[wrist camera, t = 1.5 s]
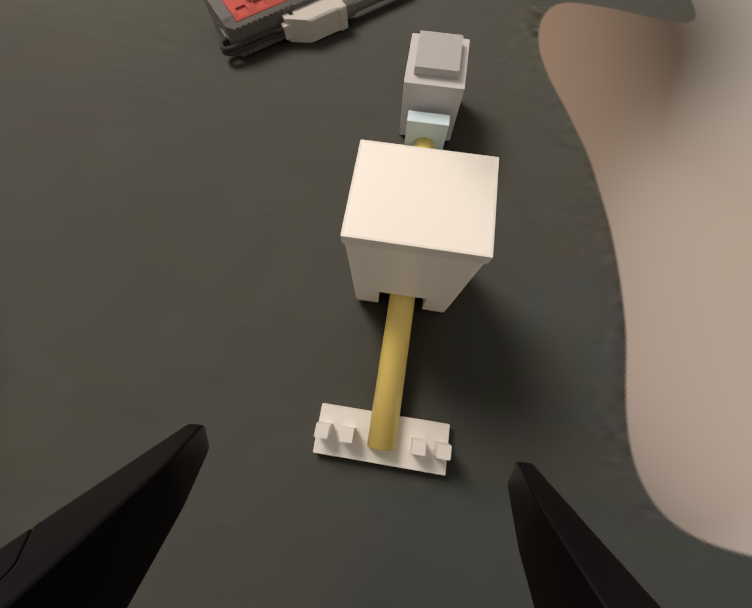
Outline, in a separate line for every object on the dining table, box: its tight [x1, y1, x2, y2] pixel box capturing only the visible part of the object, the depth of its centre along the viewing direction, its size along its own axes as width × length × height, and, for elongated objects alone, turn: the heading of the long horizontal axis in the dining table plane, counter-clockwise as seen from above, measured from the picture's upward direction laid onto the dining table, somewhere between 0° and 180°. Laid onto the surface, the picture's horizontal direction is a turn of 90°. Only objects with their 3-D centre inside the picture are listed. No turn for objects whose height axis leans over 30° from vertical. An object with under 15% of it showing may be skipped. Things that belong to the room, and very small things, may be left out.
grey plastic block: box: [399, 31, 470, 150], centre depth 25 cm, size 7×4×5 cm, turn 171°
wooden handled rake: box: [313, 137, 452, 475], centre depth 23 cm, size 26×8×2 cm, turn 171°
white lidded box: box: [340, 140, 499, 312], centre depth 19 cm, size 5×7×10 cm
